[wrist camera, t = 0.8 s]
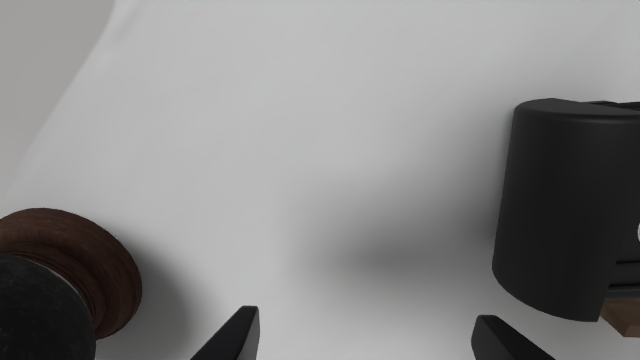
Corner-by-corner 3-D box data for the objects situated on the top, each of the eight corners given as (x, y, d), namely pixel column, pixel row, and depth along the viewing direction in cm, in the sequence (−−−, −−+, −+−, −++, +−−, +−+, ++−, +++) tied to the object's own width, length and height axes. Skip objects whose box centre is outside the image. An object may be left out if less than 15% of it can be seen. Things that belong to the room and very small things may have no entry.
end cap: (486, 100, 18) (575, 120, 11) (614, 90, 17) (781, 106, 11) (469, 248, 21) (530, 327, 15) (575, 243, 21) (685, 321, 14)
